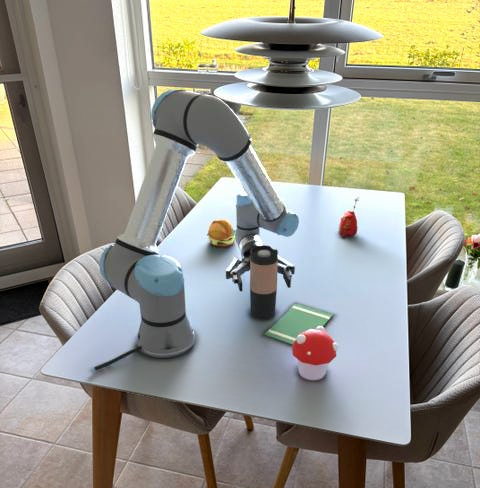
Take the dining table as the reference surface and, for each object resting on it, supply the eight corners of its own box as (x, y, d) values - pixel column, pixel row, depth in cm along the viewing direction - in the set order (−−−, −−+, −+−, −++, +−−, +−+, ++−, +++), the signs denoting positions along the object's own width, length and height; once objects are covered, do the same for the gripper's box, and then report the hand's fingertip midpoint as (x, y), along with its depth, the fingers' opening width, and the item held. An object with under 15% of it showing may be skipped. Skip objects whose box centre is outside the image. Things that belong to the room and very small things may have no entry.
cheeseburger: (239, 237, 192) (238, 215, 185) (231, 255, 186) (229, 233, 178) (214, 234, 195) (211, 212, 187) (205, 251, 188) (202, 229, 181)
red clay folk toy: (336, 231, 197) (340, 193, 189) (354, 230, 198) (358, 193, 189) (340, 239, 191) (344, 200, 183) (358, 238, 191) (363, 200, 183)
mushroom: (331, 359, 130) (336, 320, 123) (336, 387, 121) (342, 347, 114) (290, 358, 130) (292, 319, 124) (292, 386, 121) (294, 346, 115)
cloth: (303, 349, 134) (304, 348, 134) (264, 335, 139) (264, 334, 139) (332, 315, 147) (332, 314, 147) (295, 304, 152) (295, 303, 152)
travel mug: (249, 320, 145) (249, 257, 134) (249, 305, 152) (250, 244, 141) (276, 320, 145) (278, 257, 134) (275, 306, 152) (278, 245, 140)
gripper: (291, 260, 161) (308, 293, 144) (213, 265, 158) (220, 300, 141) (292, 238, 157) (310, 270, 139) (212, 243, 154) (220, 276, 137)
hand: (265, 285), depth 140 cm, fingers open, 13 cm apart
